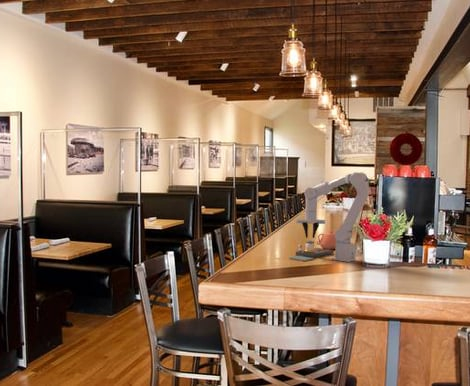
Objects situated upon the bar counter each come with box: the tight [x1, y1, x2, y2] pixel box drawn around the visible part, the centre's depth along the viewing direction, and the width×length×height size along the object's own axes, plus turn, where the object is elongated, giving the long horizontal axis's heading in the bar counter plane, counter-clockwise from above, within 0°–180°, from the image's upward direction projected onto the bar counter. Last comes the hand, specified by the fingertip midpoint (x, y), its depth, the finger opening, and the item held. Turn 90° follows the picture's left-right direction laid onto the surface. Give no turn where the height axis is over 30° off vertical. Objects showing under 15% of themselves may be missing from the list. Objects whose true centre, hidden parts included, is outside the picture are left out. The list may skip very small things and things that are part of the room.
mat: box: [288, 255, 315, 262], centre depth 243 cm, size 9×8×1 cm
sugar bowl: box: [316, 230, 336, 250], centre depth 278 cm, size 12×14×10 cm
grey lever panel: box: [295, 247, 335, 259], centre depth 256 cm, size 10×20×2 cm, turn 136°
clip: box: [297, 243, 303, 252], centre depth 256 cm, size 2×10×3 cm, turn 177°
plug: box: [303, 240, 315, 253], centre depth 253 cm, size 6×6×8 cm
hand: (310, 237), depth 252 cm, fingers open, 3 cm apart
